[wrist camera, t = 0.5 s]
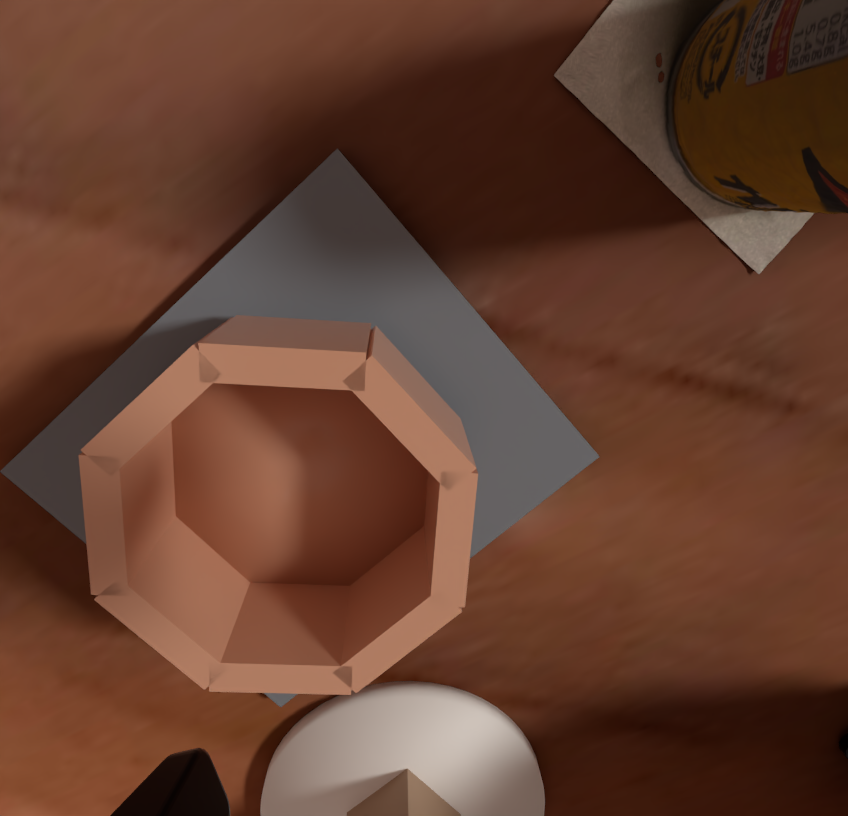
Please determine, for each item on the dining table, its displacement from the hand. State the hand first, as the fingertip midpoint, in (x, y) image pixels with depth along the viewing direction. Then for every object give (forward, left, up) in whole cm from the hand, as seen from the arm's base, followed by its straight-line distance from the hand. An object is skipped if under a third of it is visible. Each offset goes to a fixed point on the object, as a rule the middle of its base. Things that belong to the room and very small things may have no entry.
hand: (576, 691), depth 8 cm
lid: (-11, +12, -14) cm, 21 cm away
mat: (+2, +5, -13) cm, 14 cm away
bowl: (+2, +5, -13) cm, 14 cm away
